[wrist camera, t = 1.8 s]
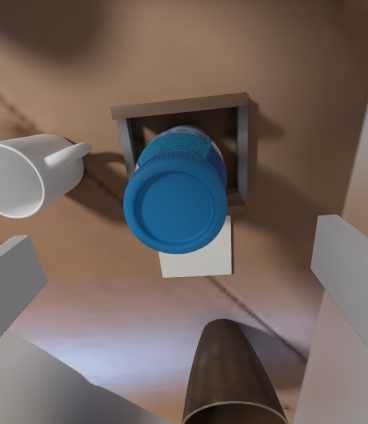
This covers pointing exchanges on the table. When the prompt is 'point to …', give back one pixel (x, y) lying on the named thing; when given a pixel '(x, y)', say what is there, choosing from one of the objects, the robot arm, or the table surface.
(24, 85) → the table surface
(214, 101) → the rack
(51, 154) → the mug
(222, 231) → the coaster
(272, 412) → the plant pot
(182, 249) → the beverage bottle
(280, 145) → the table surface
